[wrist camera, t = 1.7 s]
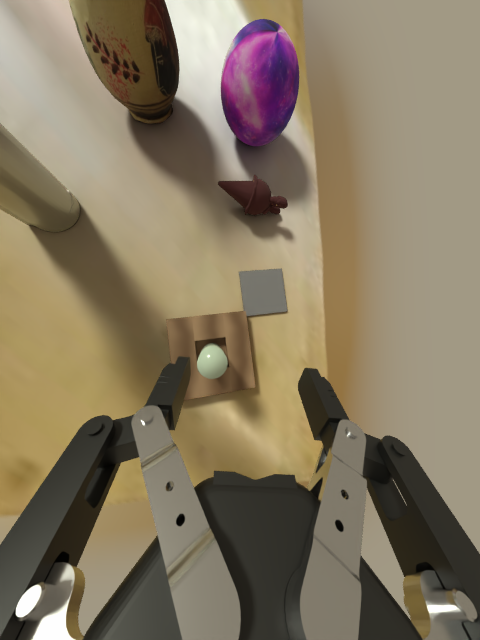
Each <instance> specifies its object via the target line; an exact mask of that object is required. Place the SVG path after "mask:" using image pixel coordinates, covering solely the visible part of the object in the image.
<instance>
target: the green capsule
mask: <svg viewBox="0 0 480 640" xmlns="http://www.w3.org/2000/svg"><path fill="white" fill-rule="evenodd" d="M227 365H228V361H227V357H226V355H225V354H224V352H223V350H222V348H221V347H220V346H219V345H218V344H216V343H208V344H206V345H205V346H204V347H203V349H202V351H201V353H200V355H199V357H198V360H197V368H198V371H199V372H200V374H201V375H202V376H204V377H206V378H208V379H215V378H218V377H220V376H221V375H223V374H224V372H225V371H226V369H227Z"/></svg>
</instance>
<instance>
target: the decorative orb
mask: <svg viewBox="0 0 480 640" xmlns="http://www.w3.org/2000/svg"><path fill="white" fill-rule="evenodd" d="M298 89H299V66H298V60H297V55H296V51H295V48H294V45H293V43H292V41H291V39H290V37H289V35H288V34H287V33H286V31H285V30H284V29H283V28H282V27H281V26H280V25H279V24H277V23H276V22H274V21H271V20H267V19H259V20H255V21H253V22H251V23H249V24H247V25H246V26H245V27H244V28H242V29H241V30H240V32H239V33H238V34H237V35H236V37H235V38H234V40H233V41H232V43H231V45H230V47H229V49H228V52H227V54H226V58H225V61H224V65H223V70H222V77H221V100H222V106H223V111H224V114H225V117H226V120H227V123H228V125H229V127H230V128H231V130H232V132H233V133H234V134H235V135H236V137H237V138H238V139H239V140H241V141H242V142H244V143H245V144H248V145H251V146H263V145H266V144H268V143H270V142H272V141H273V140H274V139H276V138H277V137H278V136H279V135H280V134H281V133H282V131H283V130H284V129H285V127H286V126H287V124H288V122H289V120H290V118H291V116H292V113H293V111H294V108H295V104H296V100H297V95H298Z"/></svg>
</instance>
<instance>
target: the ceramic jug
mask: <svg viewBox="0 0 480 640" xmlns="http://www.w3.org/2000/svg"><path fill="white" fill-rule="evenodd" d="M69 3H70V7H71V10H72V14H73V17H74V20H75V23H76V27H77V30H78V33H79V36H80V39H81V41H82V44H83V47H84V49H85V52H86V54H87V56H88V58H89V61H90V63H91V65H92V67H93V68H94V70H95V72H96V74H97V76H98V77H99V79H100V80H101V82H102V83H103V84H104V86H105V87H106V88H107V89H108V90H109V92H110V93H111V94H112V95H113V96H114V97H115V99H117V100H118V101H119V102H120V103H122V104H123V105H124V106H125V107H127V108H128V109H129V111H130V113H131V115H132V116H133V118H134V119H136V120H138V121H141V122H144V123H149V124H151V123H161V122H163V121H165V120H166V119H167V118H168V117H169V116H170V115H171V114H172V112H173V108H172V104H171V103H172V101H173V99H174V97H175V94H176V91H177V88H178V83H179V56H178V49H177V44H176V38H175V35H174V31H173V27H172V23H171V20H170V16H169V13H168V10H167V6H166V3H165V0H69Z"/></svg>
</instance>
